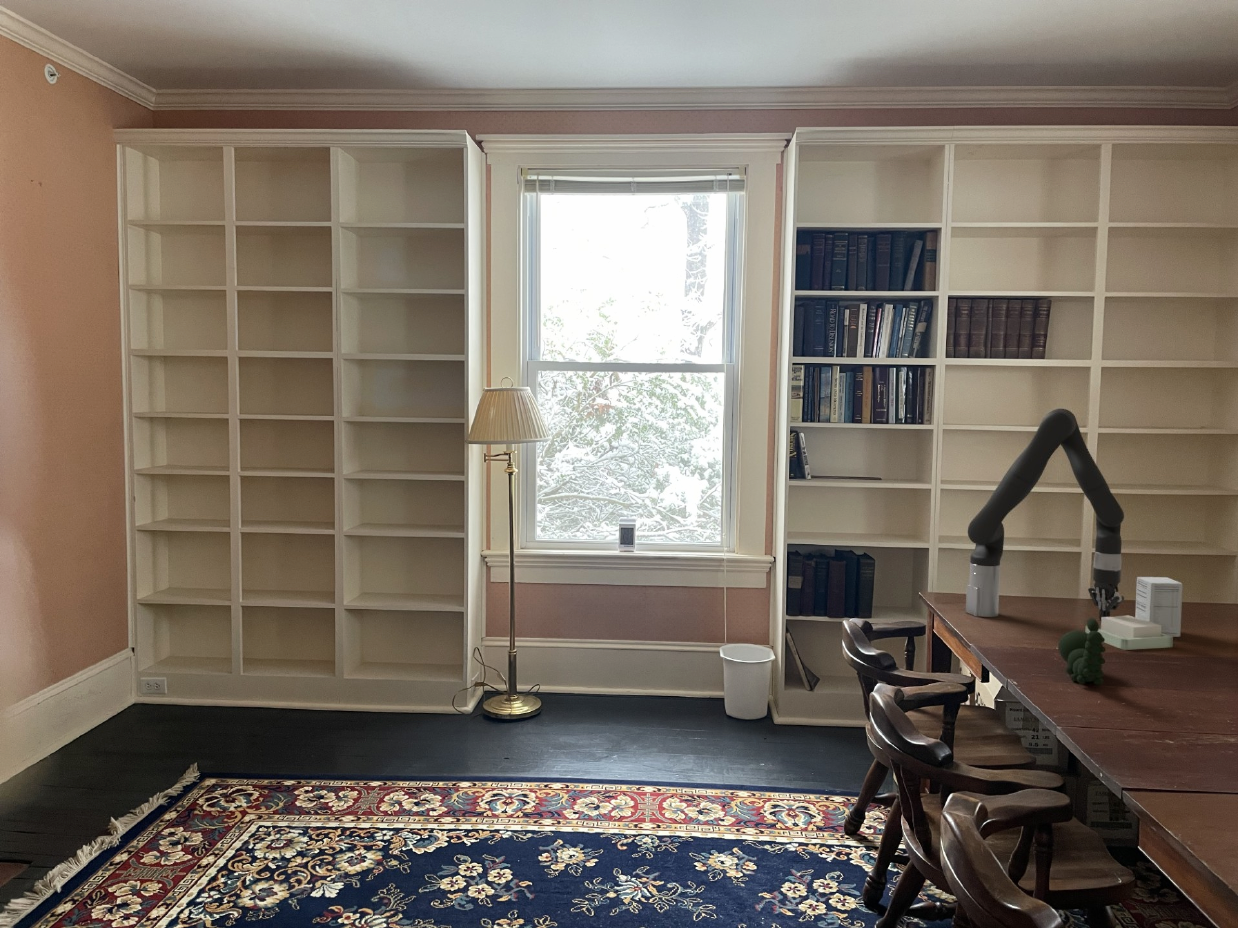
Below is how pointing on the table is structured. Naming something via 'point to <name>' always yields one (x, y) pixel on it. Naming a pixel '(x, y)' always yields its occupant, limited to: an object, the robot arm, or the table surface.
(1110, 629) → the carton
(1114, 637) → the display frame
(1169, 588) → the supplement box
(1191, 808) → the table surface
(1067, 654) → the toy figurine
